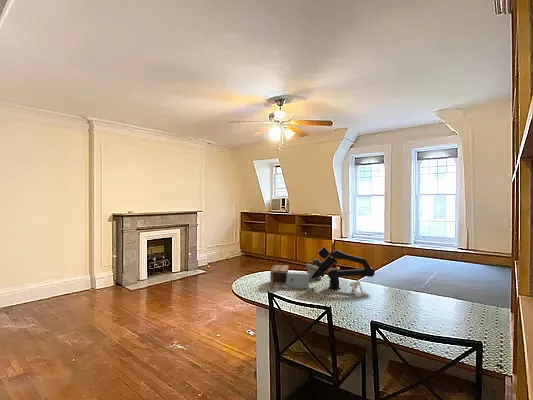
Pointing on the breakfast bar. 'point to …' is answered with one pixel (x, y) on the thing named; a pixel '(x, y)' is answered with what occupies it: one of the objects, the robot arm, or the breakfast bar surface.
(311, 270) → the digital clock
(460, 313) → the breakfast bar surface
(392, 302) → the breakfast bar surface
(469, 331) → the breakfast bar surface
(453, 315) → the breakfast bar surface
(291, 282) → the gray rectangular box
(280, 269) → the cubby cabinet
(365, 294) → the portable electronic device stand
